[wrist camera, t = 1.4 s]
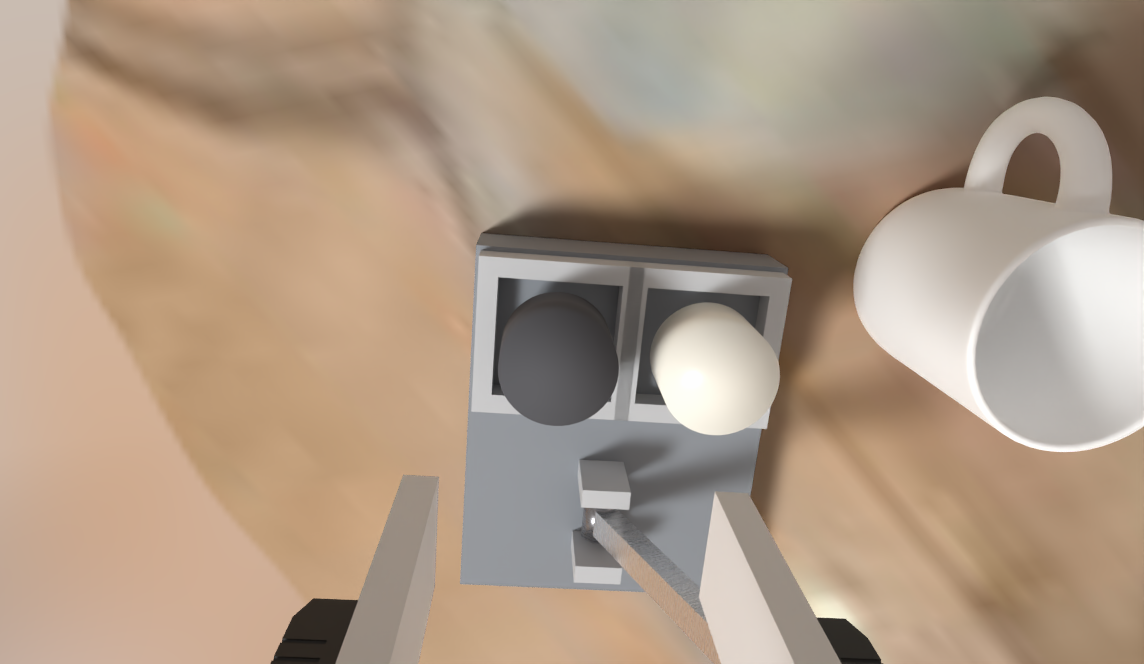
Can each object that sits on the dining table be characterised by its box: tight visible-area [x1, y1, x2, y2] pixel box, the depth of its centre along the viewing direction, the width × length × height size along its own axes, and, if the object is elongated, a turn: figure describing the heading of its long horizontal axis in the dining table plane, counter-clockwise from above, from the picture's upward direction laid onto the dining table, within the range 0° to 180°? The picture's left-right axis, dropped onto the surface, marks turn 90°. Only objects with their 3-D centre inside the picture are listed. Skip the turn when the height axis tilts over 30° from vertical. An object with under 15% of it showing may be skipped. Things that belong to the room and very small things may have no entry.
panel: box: [460, 233, 792, 592], centre depth 34 cm, size 16×13×6 cm
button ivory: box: [650, 302, 780, 435], centre depth 29 cm, size 4×4×3 cm
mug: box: [853, 97, 1144, 452], centre depth 30 cm, size 12×8×10 cm
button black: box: [498, 292, 619, 426], centre depth 29 cm, size 4×4×3 cm
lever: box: [581, 508, 721, 664], centre depth 29 cm, size 2×1×13 cm
